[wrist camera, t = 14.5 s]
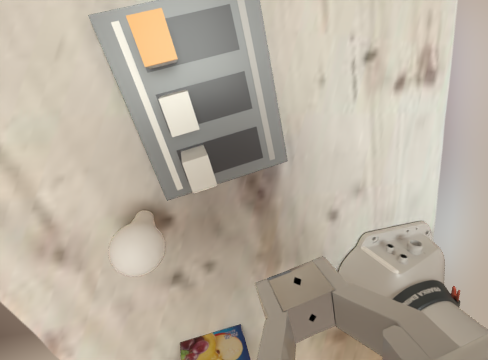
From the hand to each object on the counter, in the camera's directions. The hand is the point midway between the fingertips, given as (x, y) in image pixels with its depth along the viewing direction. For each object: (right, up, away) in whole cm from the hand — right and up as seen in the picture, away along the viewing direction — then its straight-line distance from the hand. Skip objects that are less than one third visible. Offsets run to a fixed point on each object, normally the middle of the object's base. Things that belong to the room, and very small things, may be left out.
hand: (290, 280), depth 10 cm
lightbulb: (-16, -1, +26) cm, 31 cm away
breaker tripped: (-11, +19, +17) cm, 28 cm away
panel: (-7, +14, +22) cm, 28 cm away
